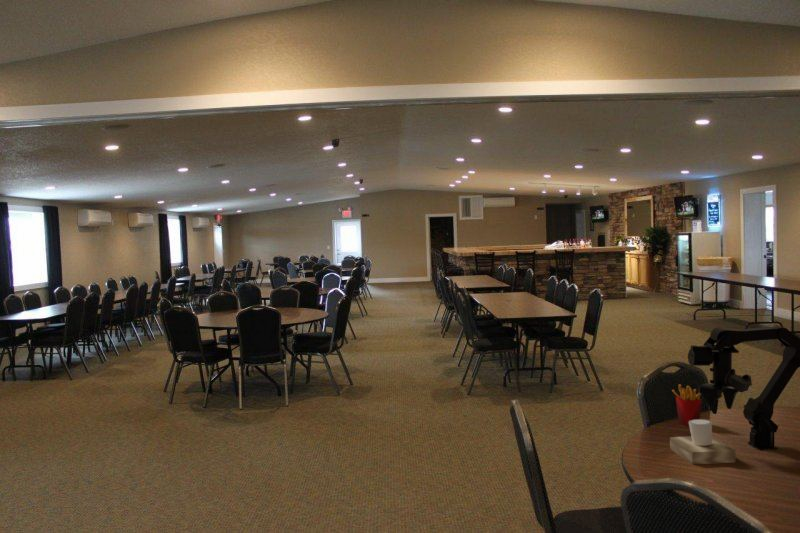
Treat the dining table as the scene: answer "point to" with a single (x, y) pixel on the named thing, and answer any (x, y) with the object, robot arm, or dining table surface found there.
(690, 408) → the french fries
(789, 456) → the dining table surface
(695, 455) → the birch block
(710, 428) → the white cup
